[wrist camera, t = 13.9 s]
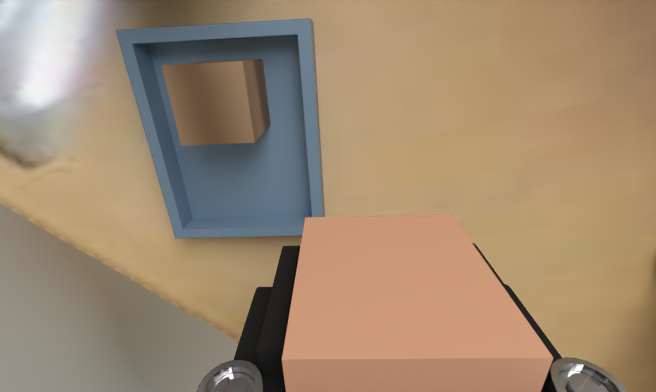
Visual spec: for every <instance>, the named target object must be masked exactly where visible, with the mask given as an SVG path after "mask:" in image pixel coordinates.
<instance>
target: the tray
mask: <svg viewBox="0 0 656 392" xmlns="http://www.w3.org/2000/svg"><path fill="white" fill-rule="evenodd" d="M116 33H117V36H118V40H119V43H120V47H121V50H122V54H123V57H124V61H125V64H126V68H127V71H128V75H129V78H130V82H131V85H132V89H133V92H134V96H135V99H136V103H137V106H138V110H139V113H140V117H141V120H142V124H143V127H144V131H145V134H146V138H147V141H148V144H149V148H150V151H151V155H152V158H153V162H154V165H155V169H156V172H157V176H158V179H159V183H160V186H161V190H162V193H163V197H164V200H165V204H166V207H167V211H168V214H169V218H170V221H171V225H172V228H173V232H174V235H175V239H176V238H217V237H258V236H299V235H302V234H303V228H304V222H305V217H325V210H324V194H323V177H322V161H321V144H320V128H319V111H318V95H317V78H316V61H315V45H314V28H313V21H312V20H311V19H310V18H308V19H291V20H275V21H258V22H241V23H224V24H208V25H191V26H174V27H157V28H141V29H124V30H116ZM249 59H263V66H264V74H265V82H266V90H267V98H268V106H269V114H270V122H271V125H270V126H269V127H268V128H267V130H266V131H265V132H264V133H263V134H262V135H261V136H260V137H259V138H258V139H257V140H256V141H255V143H234V144H210V145H186V146H181V143H180V139H179V135H178V131H177V127H176V123H175V119H174V115H173V111H172V107H171V103H170V98H169V94H168V90H167V86H166V82H165V78H164V74H163V70H162V66H164V65H175V64H186V63H197V62H214V61H231V60H249Z"/></svg>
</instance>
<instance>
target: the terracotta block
mask: <svg viewBox="0 0 656 392" xmlns="http://www.w3.org/2000/svg"><path fill="white" fill-rule="evenodd" d="M552 361H553V356H552V355H551V353H550V352H549V351H548V349H547V348H546V346H545V345H544V343H543V342H542V341H541V339H540V338H539V336H538V335H537V334H536V332H535V331H534V329H533V328H532V327H531V325H530V324H529V322H528V321H527V320H526V318H525V317H524V315H523V314H522V313H521V311H520V310H519V308H518V307H517V305H516V304H515V303H514V301H513V300H512V298H511V297H510V296H509V294H508V293H507V291H506V290H505V289H504V287H503V286H502V284H501V283H500V282H499V280H498V279H497V277H496V276H495V275H494V273H493V272H492V270H491V269H490V267H489V266H488V265H487V263H486V262H485V260H484V259H483V258H482V256H481V255H480V253H479V252H478V251H477V249H476V248H475V246H474V245H473V244H472V242H471V241H470V239H469V238H468V237H467V235H466V234H465V232H464V231H463V229H462V228H461V227H460V225H459V224H458V222H457V221H456V220H455V218H454V217H453V215H407V216H352V217H305V222H304V228H303V234H302V240H301V246H300V252H299V259H298V265H297V271H296V277H295V283H294V289H293V295H292V301H291V307H290V313H289V319H288V325H287V331H286V337H285V343H284V349H283V355H282V365H283V373H284V381H285V389H286V392H541V390H542V387H543V384H544V382H545V379H546V376H547V374H548V371H549V369H550V366H551V363H552Z"/></svg>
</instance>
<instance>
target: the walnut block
mask: <svg viewBox="0 0 656 392" xmlns="http://www.w3.org/2000/svg"><path fill="white" fill-rule="evenodd" d="M162 70H163V74H164V78H165V82H166V86H167V90H168V94H169V98H170V103H171V107H172V111H173V115H174V119H175V123H176V127H177V131H178V135H179V139H180V143H181V146H186V145H210V144H234V143H255V141H256V140H257V139H258V138H259V137H260V136H261V135H262V134H263V133H264V132H265V131H266V130H267V128H268V127H269V126H270V125H271V122H270V114H269V106H268V98H267V90H266V82H265V74H264V66H263V59H249V60H231V61H214V62H197V63H186V64H175V65H164V66H162Z"/></svg>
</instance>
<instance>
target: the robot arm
mask: <svg viewBox="0 0 656 392" xmlns="http://www.w3.org/2000/svg"><path fill="white" fill-rule="evenodd" d="M472 244H473V245H474V246H475V248H476V249H477V251H478V252H479V253H480V255H481V256H482V258H483V259H484V260H485V262H486V263H487V265H488V266H489V267H490V269H491V270H492V272H493V273H494V275H495V276H496V277H497V279H498V280H499V282H500V283H501V284H502V286H503V287H504V289H505V290H506V291H507V293H508V294H509V296H510V297H511V298H512V300H513V301H514V303H515V304H516V305H517V307H518V308H519V310H520V311H521V313H522V314H523V315H524V317H525V318H526V320H527V321H528V322H529V324H530V325H531V327H532V328H533V329H534V331H535V332H536V334H537V335H538V336H539V338H540V339H541V341H542V342H543V343H544V345H545V346H546V348H547V349H548V351H549V352H550V353H551V355H552V356H553V361H552V363H551V366H550V369H549V371H548V374H547V376H546V379H545V382H544V384H543V387H542V390H541V392H628V391H627V390H626V389H625V387H624V386H623V385H622V384H621V383H620V382H619V381H618V380H617V379H616V378H615V377H614V376H612V375H611V374H610V373H608V372H607V371H605V370H604V369H602V368H601V367H599V366H597V365H595V364H592V363H590V362H588V361H585V360H581V359H578V358H567V357H565V358H562V357H561V356H560V354H559V353H558V352H557V350H556V349H555V348H554V346H553V345H552V344H551V342H550V341H549V339H548V338H547V337H546V335H545V334H544V333H543V331H542V330H541V329H540V327H539V326H538V325H537V323H536V322H535V320H534V319H533V318H532V316H531V315H530V314H529V312H528V311H527V310H526V308H525V307H524V306H523V304H522V303H521V302H520V300H519V299H518V297H517V296H516V295H515V293H514V292H513V291H512V289H511V288H510V287H509V286H508V285H506V284H504V283H503V282H502V280H501V279H500V278H499V276H498V275H497V273H496V272H495V271H494V269H493V268H492V266H491V265H490V264H489V262H488V261H487V260H486V258H485V257H484V255H483V254H482V253H481V251H480V250H479V248H478V247H477V246H476V245H475V244H474V243H472ZM299 252H300V246H283V248H282V251H281V255H280V259H279V263H278V267H277V271H276V275H275V279H274V283H273V287H258V288H257V289H256V291H255V294H254V297H253V300H252V304H251V307H250V310H249V313H248V316H247V319H246V322H245V326H244V329H243V332H242V335H241V338H240V341H239V344H238V348H237V351H236V354H235V357H234V360H232V361H228V362H225V363H223V364H220V365H219V366H217V367H215V368H214V369H212V370H211V371H210V372H209V373H208V374H207V375H206V376H205V377H204V378H203V380H202V382H201V383H200V385H199V386H198V390H197V392H286V389H285V381H284V373H283V365H282V355H283V349H284V343H285V337H286V331H287V325H288V319H289V313H290V307H291V301H292V295H293V289H294V283H295V277H296V271H297V265H298V259H299Z"/></svg>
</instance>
